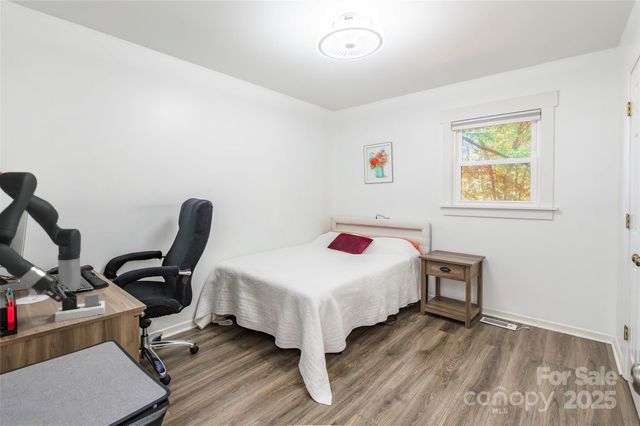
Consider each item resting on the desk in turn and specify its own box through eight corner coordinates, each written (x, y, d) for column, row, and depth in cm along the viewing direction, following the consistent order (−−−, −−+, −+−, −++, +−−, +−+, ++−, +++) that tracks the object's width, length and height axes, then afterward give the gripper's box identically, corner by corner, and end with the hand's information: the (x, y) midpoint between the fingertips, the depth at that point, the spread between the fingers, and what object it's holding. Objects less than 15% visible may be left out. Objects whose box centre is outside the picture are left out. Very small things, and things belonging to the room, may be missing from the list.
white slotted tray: (59, 313, 140) (58, 295, 139) (105, 306, 148) (104, 290, 148) (55, 321, 131) (54, 303, 130) (103, 314, 140) (103, 296, 139)
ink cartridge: (77, 313, 140) (77, 296, 139) (76, 315, 138) (76, 297, 137) (63, 315, 137) (62, 297, 137) (62, 317, 135) (61, 299, 135)
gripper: (42, 276, 126) (79, 299, 133) (49, 268, 138) (83, 289, 145) (25, 291, 124) (64, 314, 131) (33, 281, 136) (68, 303, 143)
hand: (74, 301), depth 138 cm, fingers open, 8 cm apart
